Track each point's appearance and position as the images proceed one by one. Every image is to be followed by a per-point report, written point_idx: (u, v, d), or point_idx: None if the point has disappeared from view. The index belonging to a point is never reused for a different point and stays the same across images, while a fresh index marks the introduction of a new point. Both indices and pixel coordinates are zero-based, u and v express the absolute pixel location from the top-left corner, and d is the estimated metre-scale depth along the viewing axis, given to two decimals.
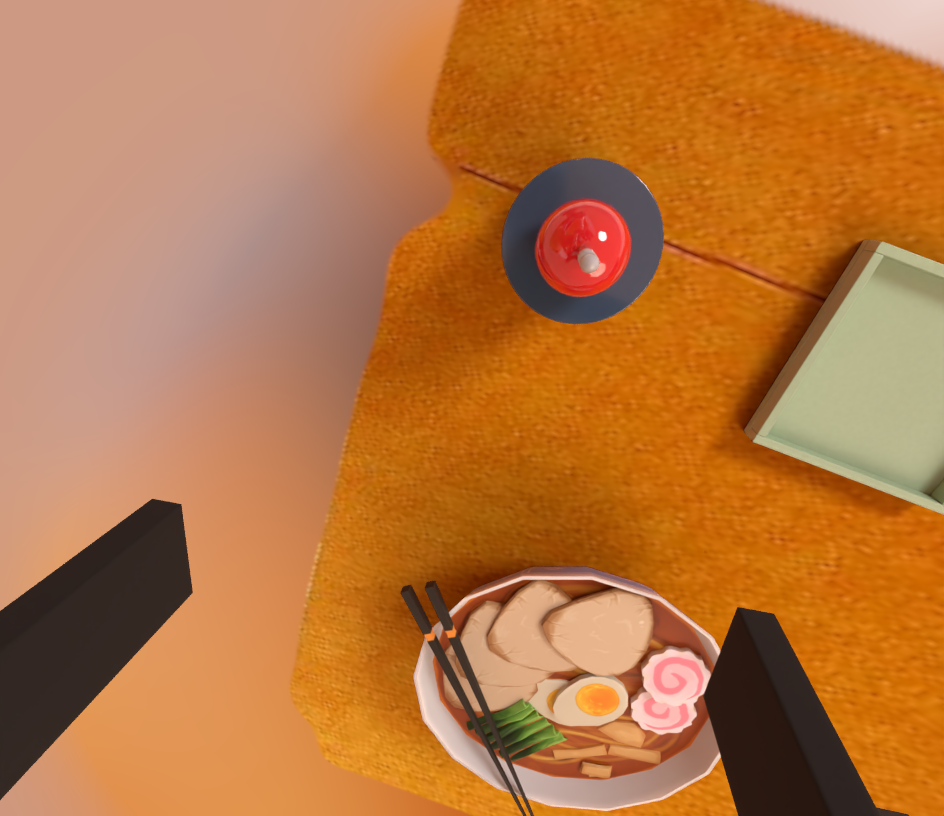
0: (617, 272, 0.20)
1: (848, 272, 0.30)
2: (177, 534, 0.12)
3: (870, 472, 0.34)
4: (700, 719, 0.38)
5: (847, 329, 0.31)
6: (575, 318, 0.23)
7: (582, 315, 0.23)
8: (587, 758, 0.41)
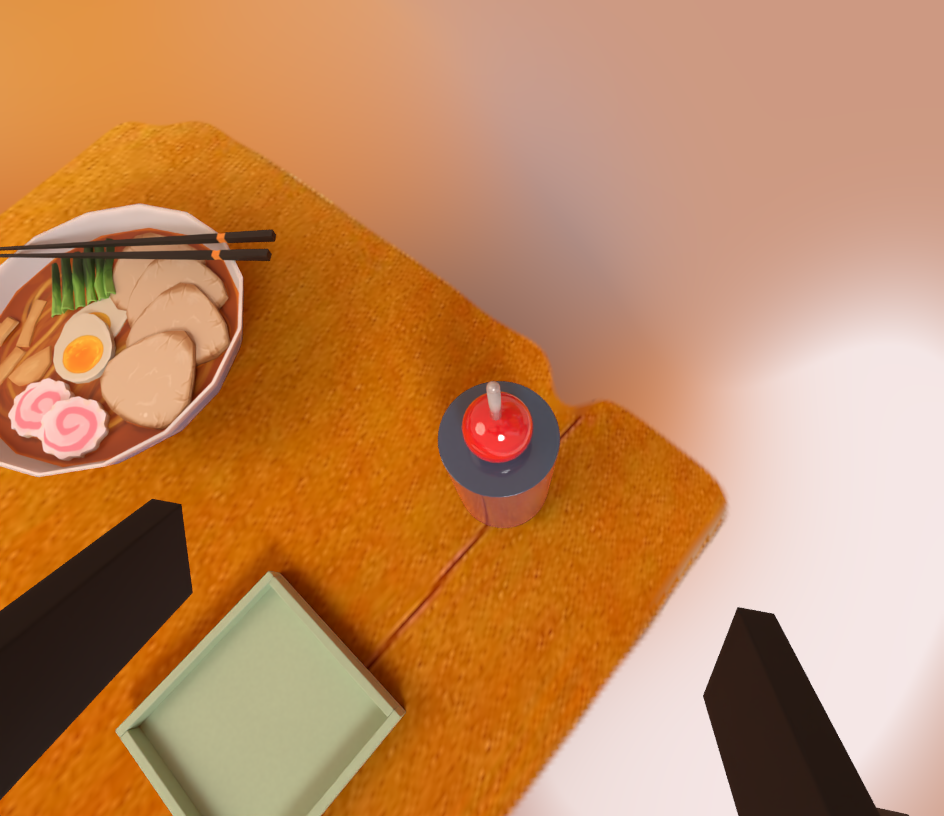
0: (472, 438, 0.26)
1: (384, 690, 0.34)
2: (177, 534, 0.12)
3: (188, 673, 0.35)
4: (11, 439, 0.37)
5: (334, 679, 0.35)
6: (447, 417, 0.30)
7: (447, 423, 0.29)
8: (20, 327, 0.41)
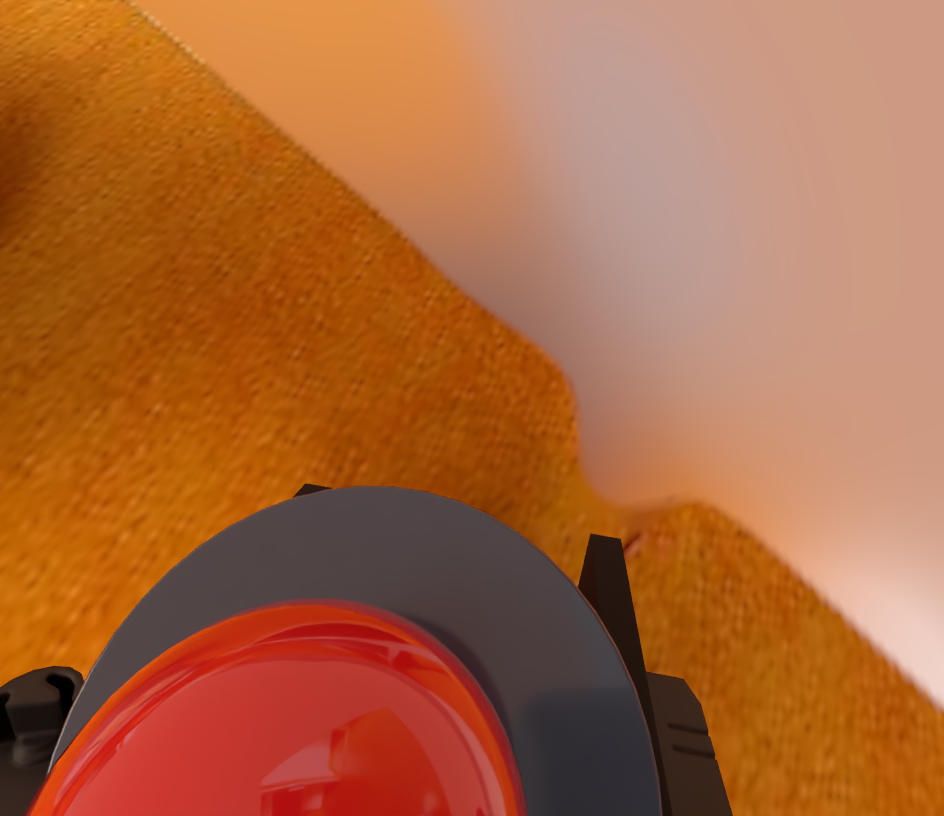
0: None
1: None
2: None
3: None
4: None
5: None
6: (130, 642, 0.06)
7: (121, 673, 0.06)
8: None
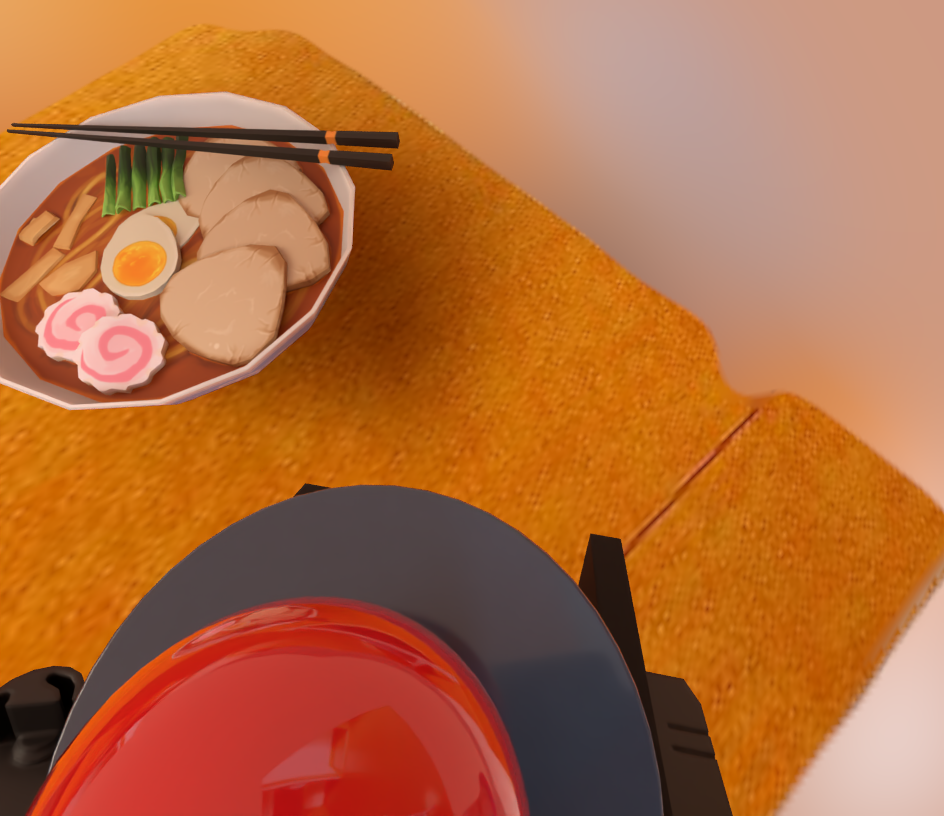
0: None
1: None
2: None
3: None
4: (36, 361, 0.28)
5: None
6: (131, 641, 0.06)
7: (122, 672, 0.06)
8: (60, 225, 0.32)
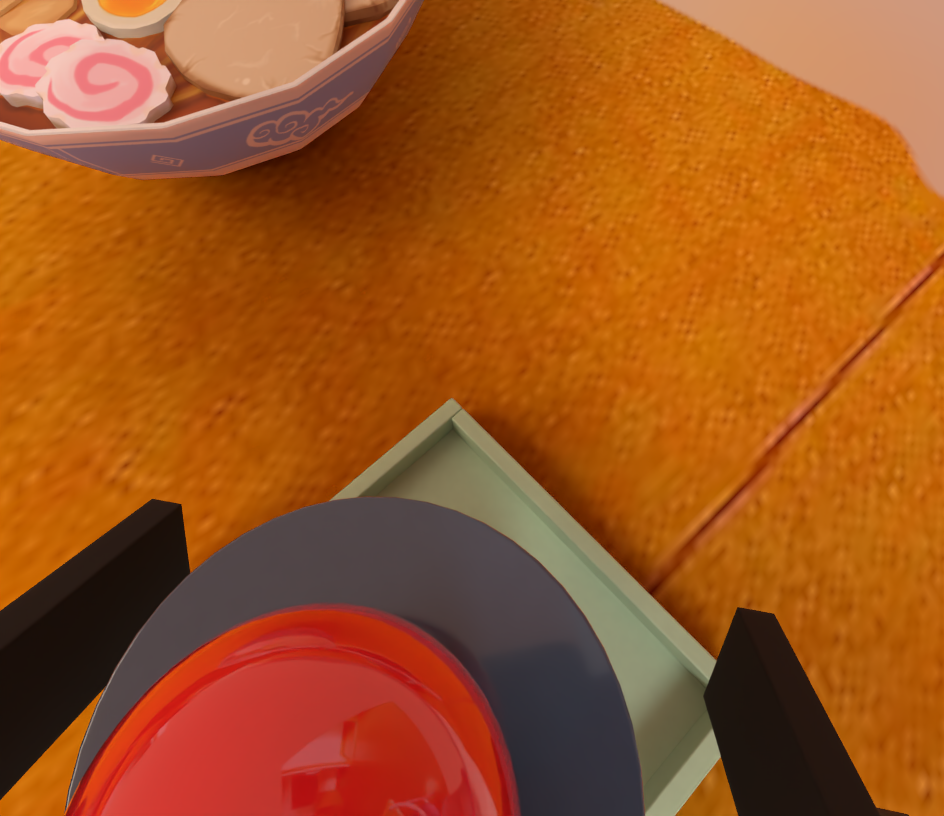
0: None
1: None
2: (176, 534, 0.12)
3: None
4: None
5: None
6: (151, 643, 0.07)
7: (143, 671, 0.07)
8: None
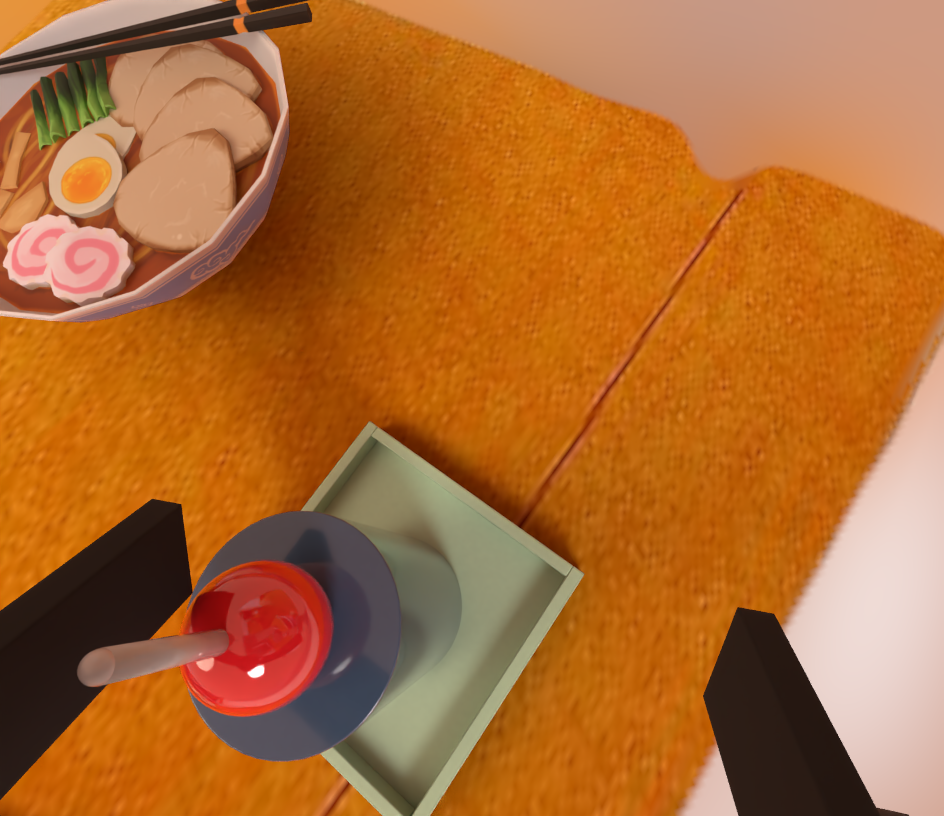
0: None
1: None
2: (177, 534, 0.12)
3: None
4: (12, 294, 0.28)
5: (479, 544, 0.26)
6: None
7: None
8: (2, 167, 0.32)
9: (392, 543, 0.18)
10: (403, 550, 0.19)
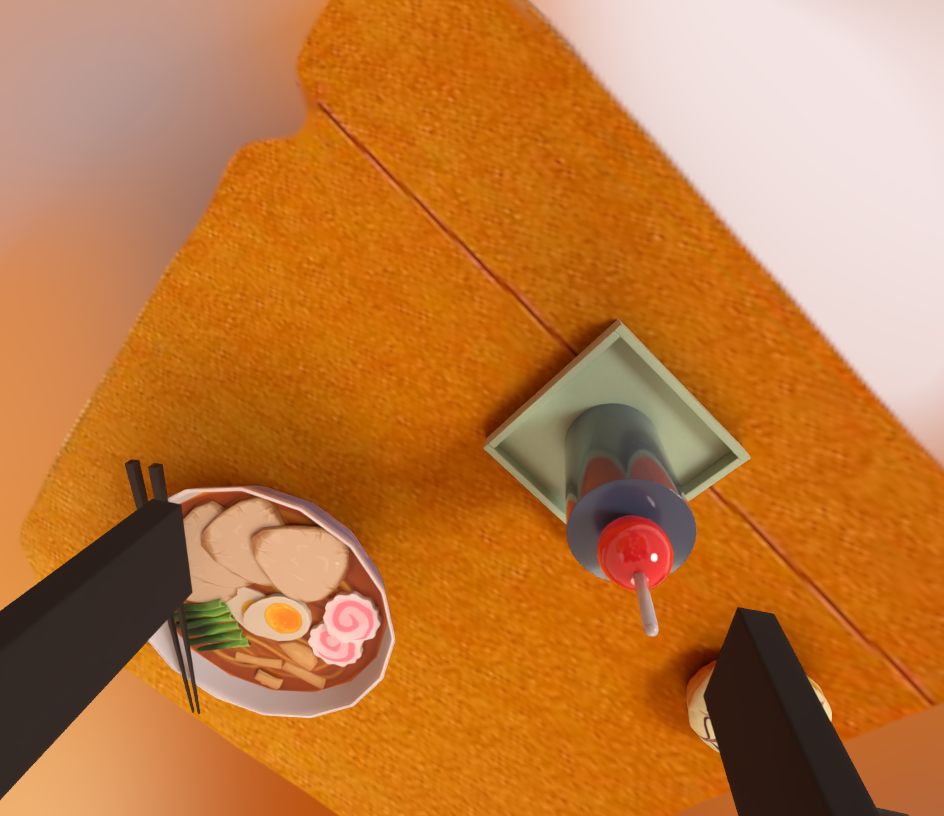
0: None
1: (597, 340, 0.36)
2: (177, 534, 0.12)
3: None
4: (365, 661, 0.43)
5: (583, 386, 0.37)
6: (601, 574, 0.29)
7: None
8: (263, 667, 0.45)
9: (589, 467, 0.30)
10: (593, 458, 0.30)
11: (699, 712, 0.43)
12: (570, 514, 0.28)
